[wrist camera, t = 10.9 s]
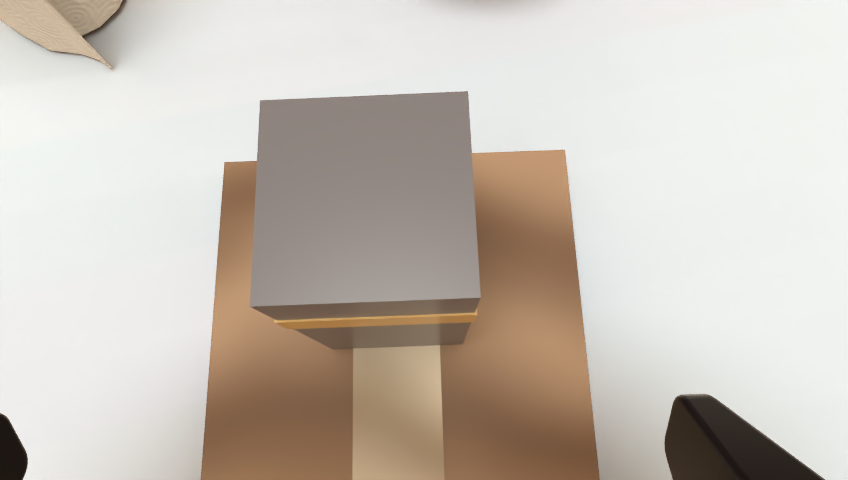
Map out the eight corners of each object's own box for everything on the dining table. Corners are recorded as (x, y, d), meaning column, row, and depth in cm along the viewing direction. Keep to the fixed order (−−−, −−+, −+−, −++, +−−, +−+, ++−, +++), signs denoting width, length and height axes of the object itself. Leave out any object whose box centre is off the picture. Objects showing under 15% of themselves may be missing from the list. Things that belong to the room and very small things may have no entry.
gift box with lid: (464, 345, 20) (483, 299, 11) (331, 350, 20) (246, 309, 11) (457, 219, 21) (469, 89, 12) (332, 223, 21) (258, 98, 12)
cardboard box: (617, 766, 18) (633, 800, 16) (197, 774, 18) (175, 808, 16) (557, 165, 23) (565, 149, 22) (237, 177, 23) (224, 161, 22)
